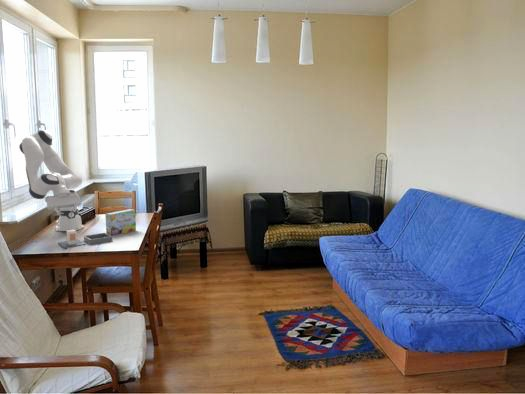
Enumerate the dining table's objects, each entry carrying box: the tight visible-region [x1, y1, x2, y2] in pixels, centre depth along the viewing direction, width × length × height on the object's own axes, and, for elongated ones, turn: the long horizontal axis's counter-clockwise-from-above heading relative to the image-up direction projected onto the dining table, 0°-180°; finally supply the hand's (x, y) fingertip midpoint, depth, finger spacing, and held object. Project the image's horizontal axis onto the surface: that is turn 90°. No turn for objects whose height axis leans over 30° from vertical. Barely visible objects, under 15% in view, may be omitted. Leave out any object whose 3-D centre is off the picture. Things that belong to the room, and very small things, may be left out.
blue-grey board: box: [57, 238, 86, 250], centre depth 277 cm, size 16×12×1 cm
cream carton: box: [65, 230, 78, 245], centre depth 275 cm, size 5×4×8 cm
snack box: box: [105, 208, 137, 237], centre depth 305 cm, size 21×6×15 cm, turn 148°
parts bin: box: [83, 232, 113, 246], centre depth 283 cm, size 13×13×4 cm
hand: (67, 212), depth 283 cm, fingers open, 8 cm apart
